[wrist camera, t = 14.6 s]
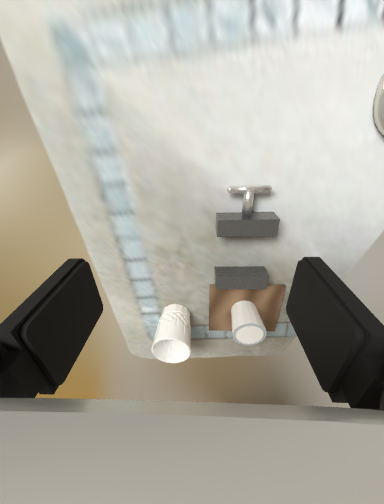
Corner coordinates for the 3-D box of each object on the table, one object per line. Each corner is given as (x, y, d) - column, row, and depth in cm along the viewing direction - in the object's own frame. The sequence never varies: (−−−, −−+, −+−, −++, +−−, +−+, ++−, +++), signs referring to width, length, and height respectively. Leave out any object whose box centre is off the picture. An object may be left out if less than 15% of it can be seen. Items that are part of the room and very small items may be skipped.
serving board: (284, 284, 45) (285, 286, 44) (273, 329, 52) (274, 331, 51) (209, 284, 45) (209, 286, 45) (209, 328, 52) (209, 330, 52)
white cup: (192, 325, 52) (190, 364, 44) (161, 324, 52) (153, 362, 44) (192, 302, 48) (190, 339, 40) (158, 301, 49) (149, 337, 40)
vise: (278, 182, 34) (285, 187, 31) (262, 278, 44) (266, 289, 41) (217, 184, 35) (218, 189, 32) (214, 278, 45) (215, 289, 42)
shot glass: (237, 294, 46) (242, 319, 40) (264, 304, 47) (273, 329, 41) (223, 314, 49) (226, 340, 43) (249, 323, 50) (255, 349, 44)
